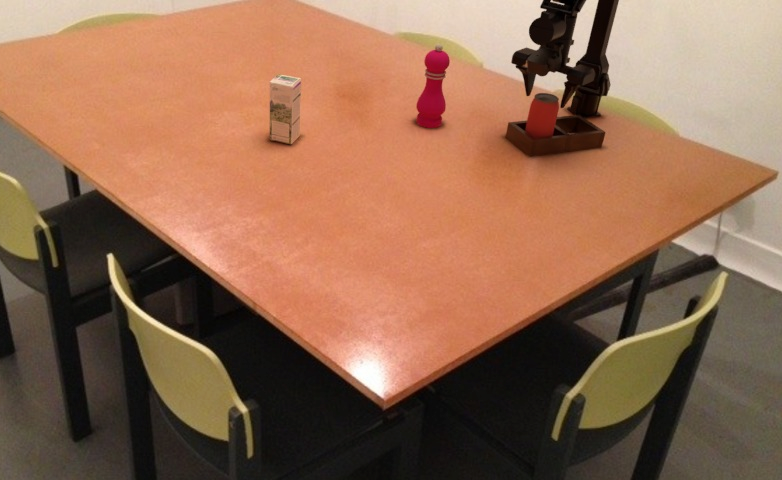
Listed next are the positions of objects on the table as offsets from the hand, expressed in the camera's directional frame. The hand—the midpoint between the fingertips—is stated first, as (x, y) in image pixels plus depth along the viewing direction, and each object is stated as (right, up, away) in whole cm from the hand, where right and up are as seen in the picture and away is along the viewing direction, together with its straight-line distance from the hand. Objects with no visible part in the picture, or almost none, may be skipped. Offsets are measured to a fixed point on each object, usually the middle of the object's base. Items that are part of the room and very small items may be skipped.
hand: (544, 101), depth 181 cm
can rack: (+4, -8, +7) cm, 12 cm away
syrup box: (-61, -9, +1) cm, 62 cm away
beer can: (0, -9, +6) cm, 11 cm away
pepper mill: (-26, -3, +13) cm, 29 cm away
